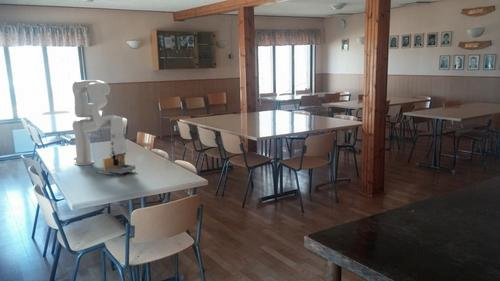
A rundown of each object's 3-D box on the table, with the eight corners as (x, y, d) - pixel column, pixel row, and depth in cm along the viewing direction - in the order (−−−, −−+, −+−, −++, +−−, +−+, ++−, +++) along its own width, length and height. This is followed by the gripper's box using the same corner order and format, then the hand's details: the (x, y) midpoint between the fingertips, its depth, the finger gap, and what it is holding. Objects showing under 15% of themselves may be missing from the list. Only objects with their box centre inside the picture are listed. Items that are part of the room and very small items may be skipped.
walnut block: (119, 166, 257) (118, 155, 256) (113, 165, 259) (112, 155, 258) (125, 164, 262) (124, 154, 260) (118, 164, 264) (118, 153, 262)
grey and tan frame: (104, 173, 258) (103, 159, 256) (118, 168, 270) (117, 155, 268) (121, 175, 252) (120, 161, 251) (135, 170, 264) (134, 157, 262)
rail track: (96, 172, 263) (96, 172, 262) (108, 169, 272) (108, 168, 272) (124, 176, 253) (124, 175, 253) (135, 172, 263) (135, 171, 263)
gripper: (112, 138, 248) (114, 167, 251) (131, 134, 263) (132, 161, 266) (102, 137, 251) (104, 166, 254) (122, 133, 266) (123, 160, 269)
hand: (119, 163), depth 260 cm, fingers closed on walnut block, 5 cm apart
